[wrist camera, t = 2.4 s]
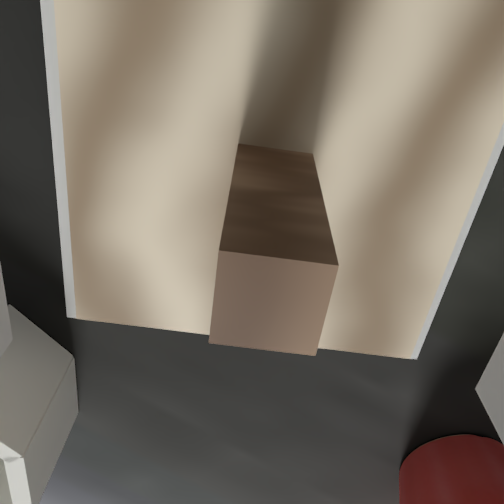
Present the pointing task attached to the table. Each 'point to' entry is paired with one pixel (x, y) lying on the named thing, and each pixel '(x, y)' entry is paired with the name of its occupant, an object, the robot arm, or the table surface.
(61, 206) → the tray
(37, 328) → the bowl
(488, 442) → the flower pot
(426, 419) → the table surface
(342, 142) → the lid
